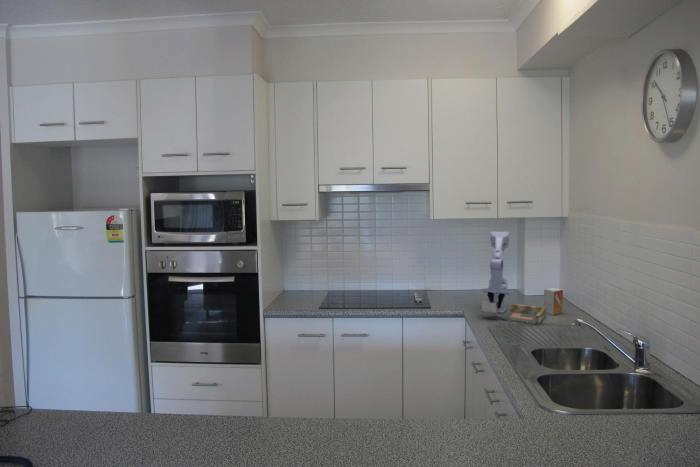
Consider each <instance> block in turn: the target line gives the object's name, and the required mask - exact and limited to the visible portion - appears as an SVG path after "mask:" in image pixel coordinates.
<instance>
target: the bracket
mask: <svg viewBox="0 0 700 467" xmlns="http://www.w3.org/2000/svg"><path fill="white" fill-rule="evenodd" d="M500 309H501V308H498V299H497V298H495V299H494V300H493V301H486V300H482V301H481V312H484V313H493V314H494V313H495V314H497V313H499V312H498V311H499V310H500Z"/></svg>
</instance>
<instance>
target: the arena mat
mask: <svg viewBox="0 0 700 467" xmlns="http://www.w3.org/2000/svg"><path fill="white" fill-rule="evenodd" d="M502 319H504V320H503V321H507V320H511V321H510V322H514V321H518V322H517V323H521V322H528V323H527V324H529V323H535V324H534V325H536V315H534V314H526V313H518V312H510V311H509V312H508V313H507V314H506V315H504V317H503V318H502ZM544 319H545V318H543V320H544Z"/></svg>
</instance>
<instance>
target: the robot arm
mask: <svg viewBox="0 0 700 467" xmlns="http://www.w3.org/2000/svg"><path fill="white" fill-rule="evenodd" d="M490 245H491V248H494V249H493V250H492V251H491V253H492V254H491V259H490V261H489V267H490V268H489V270H490V278H489V281H488V288H485V287H482V289H481V293H484V294H485V293H486V300H485V301H493V300H494V299H495V298H497V299H498V308H501V309H500V310H499V311H498V312H497V313H499V314H503V313H505V312H506V310H507V308H505V304H506V301H505V300H506V298H505V296H511V295H512V291H511V290H508V280H507V279H505V278H504V276H503V274H504V273H503V272H504V265H505V264H504V263H505V262H504V252H505V250H506V249H507V248H509V245H510V232H509V231H496V230H495V231H493V230H492V231H491V232H490Z"/></svg>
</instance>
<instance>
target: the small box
mask: <svg viewBox="0 0 700 467" xmlns="http://www.w3.org/2000/svg"><path fill="white" fill-rule="evenodd" d="M563 297H564V289H562V288H556V287H551V288H544V290H543V307H544V308H546V315H547V314H548V315H551V316H555V315H558V314H562V313H563V299H564V298H563Z"/></svg>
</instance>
